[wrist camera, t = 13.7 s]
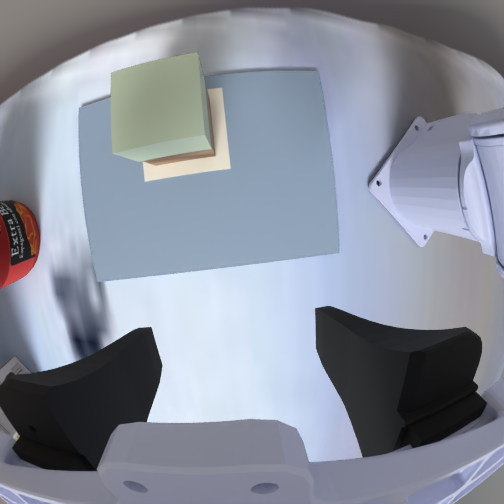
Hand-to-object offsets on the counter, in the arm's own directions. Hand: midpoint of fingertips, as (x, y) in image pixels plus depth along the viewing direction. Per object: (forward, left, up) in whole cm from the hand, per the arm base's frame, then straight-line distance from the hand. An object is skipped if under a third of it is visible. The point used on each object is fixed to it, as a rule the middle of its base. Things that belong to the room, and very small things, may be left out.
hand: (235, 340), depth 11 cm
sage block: (-6, -10, -6) cm, 13 cm away
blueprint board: (-5, -7, -10) cm, 13 cm away
